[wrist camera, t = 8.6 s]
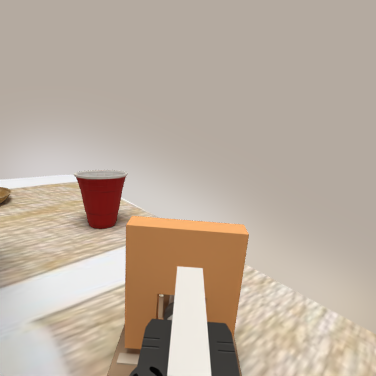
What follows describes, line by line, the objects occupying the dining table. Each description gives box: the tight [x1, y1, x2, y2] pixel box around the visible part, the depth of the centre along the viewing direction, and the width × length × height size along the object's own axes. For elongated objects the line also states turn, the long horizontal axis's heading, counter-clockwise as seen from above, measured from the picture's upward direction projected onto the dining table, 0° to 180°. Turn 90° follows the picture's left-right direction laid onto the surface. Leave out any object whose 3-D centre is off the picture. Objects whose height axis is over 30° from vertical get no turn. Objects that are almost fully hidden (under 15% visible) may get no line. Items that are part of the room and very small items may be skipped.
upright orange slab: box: [125, 216, 249, 349], centre depth 23 cm, size 2×10×12 cm, turn 89°
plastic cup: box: [74, 170, 127, 229], centre depth 54 cm, size 11×11×12 cm
